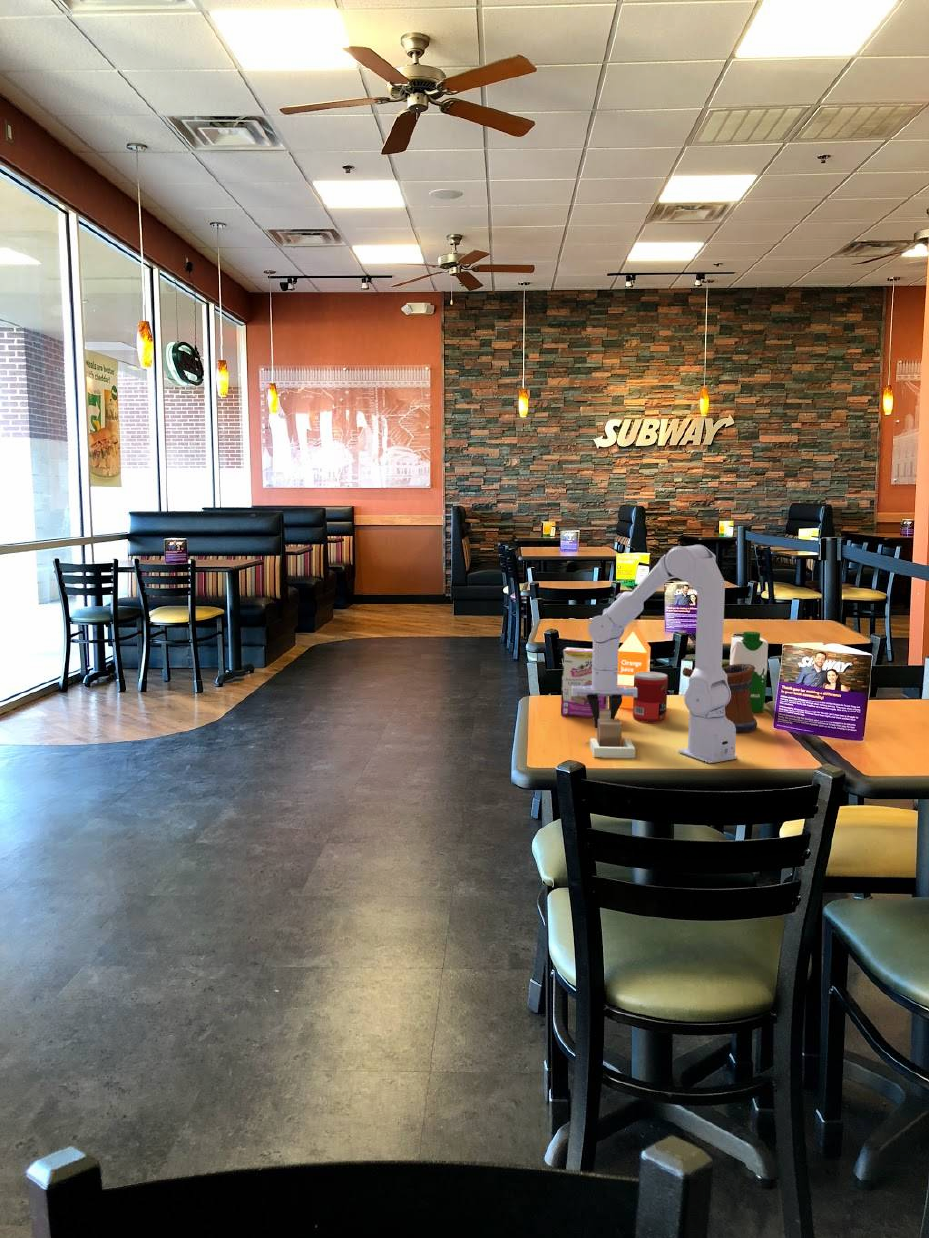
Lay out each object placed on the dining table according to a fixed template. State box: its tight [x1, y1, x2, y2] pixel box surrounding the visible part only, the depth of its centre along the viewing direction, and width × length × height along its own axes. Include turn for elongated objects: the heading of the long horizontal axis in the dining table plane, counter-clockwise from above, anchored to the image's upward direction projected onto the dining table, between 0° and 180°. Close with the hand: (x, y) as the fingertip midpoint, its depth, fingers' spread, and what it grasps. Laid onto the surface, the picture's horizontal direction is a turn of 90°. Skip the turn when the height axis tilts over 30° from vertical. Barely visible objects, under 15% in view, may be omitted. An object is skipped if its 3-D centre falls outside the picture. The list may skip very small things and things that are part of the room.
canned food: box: [632, 671, 669, 724], centre depth 225 cm, size 8×8×11 cm
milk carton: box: [729, 631, 769, 714], centre depth 235 cm, size 9×9×20 cm
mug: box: [682, 664, 758, 733], centre depth 217 cm, size 18×12×15 cm, turn 96°
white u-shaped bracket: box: [589, 737, 636, 759], centre depth 196 cm, size 8×8×2 cm
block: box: [596, 708, 622, 747], centre depth 204 cm, size 12×4×6 cm, turn 179°
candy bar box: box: [560, 647, 609, 719], centre depth 227 cm, size 11×5×16 cm, turn 76°
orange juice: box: [617, 626, 652, 710], centre depth 239 cm, size 8×9×20 cm
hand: (603, 727), depth 210 cm, fingers closed on block, 2 cm apart
